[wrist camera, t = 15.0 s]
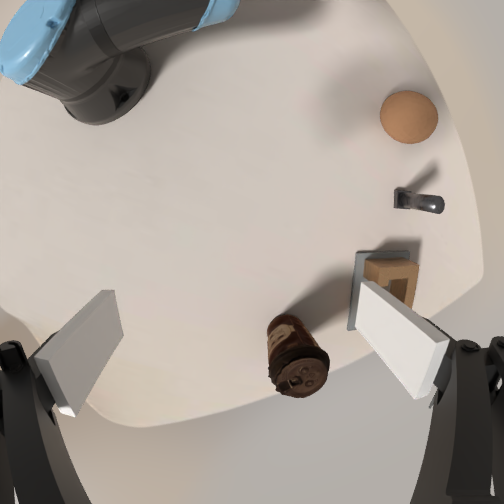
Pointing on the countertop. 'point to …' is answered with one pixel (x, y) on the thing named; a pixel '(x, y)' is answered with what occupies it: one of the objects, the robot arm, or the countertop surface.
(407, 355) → the robot arm
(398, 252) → the mat
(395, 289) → the c link
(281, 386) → the coffee cup
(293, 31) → the countertop surface
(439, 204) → the post stand
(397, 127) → the egg
